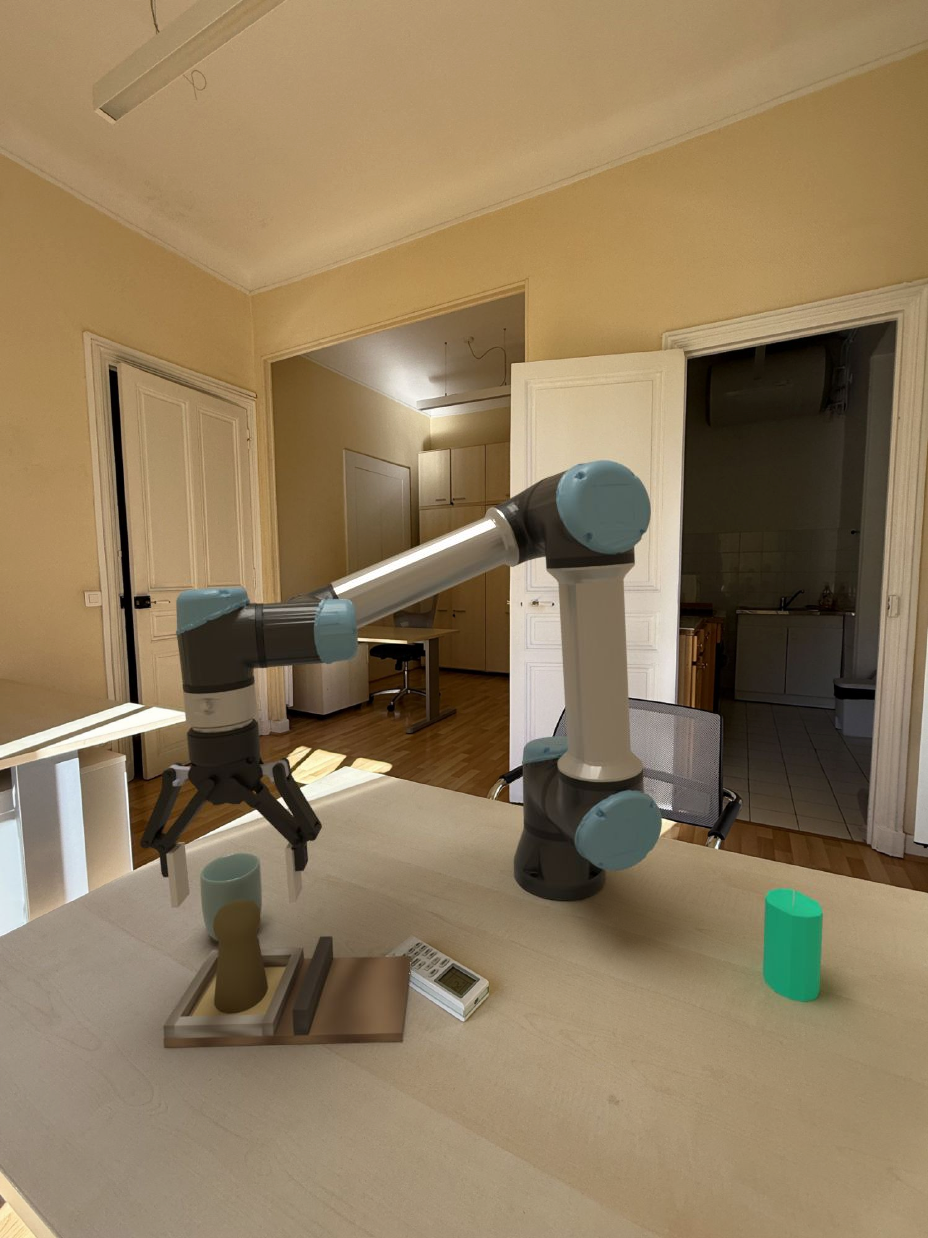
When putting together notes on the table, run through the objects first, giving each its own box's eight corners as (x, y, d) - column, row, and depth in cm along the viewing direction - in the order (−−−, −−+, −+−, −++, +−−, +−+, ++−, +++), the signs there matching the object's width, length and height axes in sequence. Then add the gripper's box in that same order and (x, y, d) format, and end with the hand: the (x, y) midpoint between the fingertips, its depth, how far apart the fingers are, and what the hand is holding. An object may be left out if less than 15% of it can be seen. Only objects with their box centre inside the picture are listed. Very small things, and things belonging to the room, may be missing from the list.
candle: (800, 1009, 64) (803, 911, 62) (752, 975, 69) (754, 884, 68) (830, 990, 66) (834, 895, 65) (781, 959, 72) (785, 871, 71)
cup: (243, 955, 75) (238, 884, 74) (192, 948, 76) (187, 879, 75) (273, 919, 82) (270, 854, 81) (227, 913, 84) (223, 850, 83)
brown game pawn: (278, 982, 68) (274, 898, 67) (241, 1020, 62) (236, 928, 61) (241, 970, 70) (236, 887, 69) (202, 1005, 64) (196, 916, 63)
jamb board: (411, 963, 72) (410, 934, 72) (401, 1041, 60) (400, 1007, 60) (213, 968, 72) (211, 939, 72) (164, 1047, 60) (161, 1013, 60)
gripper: (91, 738, 59) (112, 923, 61) (323, 727, 59) (336, 913, 61) (133, 718, 67) (150, 884, 69) (339, 709, 67) (350, 875, 69)
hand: (238, 898), depth 65 cm, fingers open, 13 cm apart
